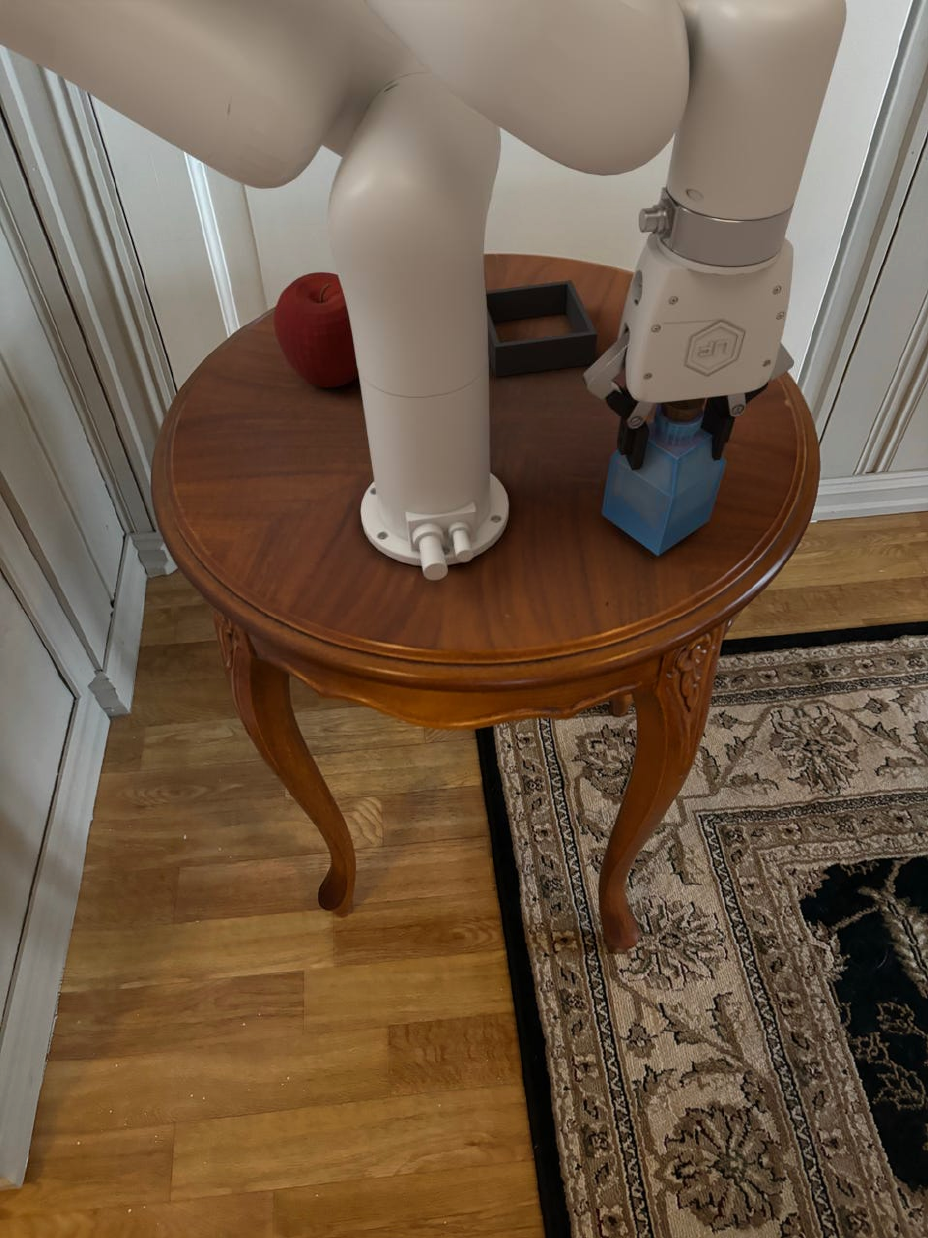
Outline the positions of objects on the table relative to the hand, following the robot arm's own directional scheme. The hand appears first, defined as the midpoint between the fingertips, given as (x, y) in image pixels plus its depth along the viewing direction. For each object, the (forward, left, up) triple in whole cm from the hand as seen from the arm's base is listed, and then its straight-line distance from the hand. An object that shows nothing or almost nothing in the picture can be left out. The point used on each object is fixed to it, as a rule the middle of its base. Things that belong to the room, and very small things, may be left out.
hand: (670, 451), depth 68 cm
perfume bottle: (0, 0, -7) cm, 7 cm away
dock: (+29, +4, -8) cm, 31 cm away
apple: (+28, +25, -9) cm, 38 cm away
